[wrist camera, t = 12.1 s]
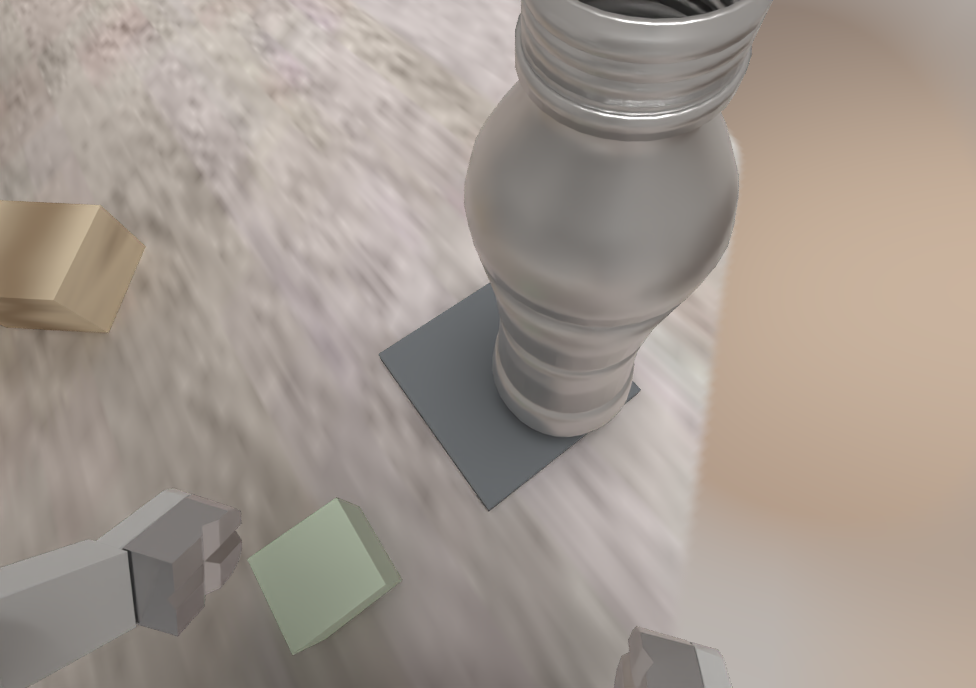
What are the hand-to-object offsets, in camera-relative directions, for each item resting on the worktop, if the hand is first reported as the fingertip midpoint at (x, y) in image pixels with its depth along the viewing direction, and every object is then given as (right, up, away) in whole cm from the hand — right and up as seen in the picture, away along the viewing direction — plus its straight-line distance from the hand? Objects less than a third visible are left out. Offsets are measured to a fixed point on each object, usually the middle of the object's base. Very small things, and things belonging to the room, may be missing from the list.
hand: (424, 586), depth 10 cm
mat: (+2, +3, +17) cm, 17 cm away
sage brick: (-5, -6, +13) cm, 15 cm away
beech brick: (-23, +8, +19) cm, 31 cm away
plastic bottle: (+5, +3, +16) cm, 17 cm away
